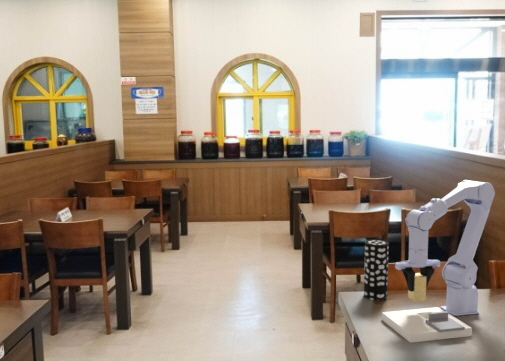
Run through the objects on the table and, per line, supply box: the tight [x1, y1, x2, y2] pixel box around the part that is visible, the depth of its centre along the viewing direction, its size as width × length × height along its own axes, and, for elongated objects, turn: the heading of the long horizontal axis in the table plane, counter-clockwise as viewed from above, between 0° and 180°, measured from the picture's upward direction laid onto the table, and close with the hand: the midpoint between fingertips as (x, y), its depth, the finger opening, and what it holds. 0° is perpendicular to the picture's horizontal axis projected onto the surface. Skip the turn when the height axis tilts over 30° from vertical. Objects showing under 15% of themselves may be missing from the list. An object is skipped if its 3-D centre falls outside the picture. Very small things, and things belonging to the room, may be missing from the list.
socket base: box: [381, 306, 473, 343], centre depth 165 cm, size 20×18×2 cm
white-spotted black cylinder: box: [363, 239, 390, 301], centre depth 193 cm, size 8×8×20 cm
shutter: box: [426, 310, 465, 332], centre depth 160 cm, size 8×8×3 cm
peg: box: [407, 272, 427, 303], centre depth 170 cm, size 4×4×8 cm
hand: (417, 290), depth 170 cm, fingers closed on peg, 4 cm apart
